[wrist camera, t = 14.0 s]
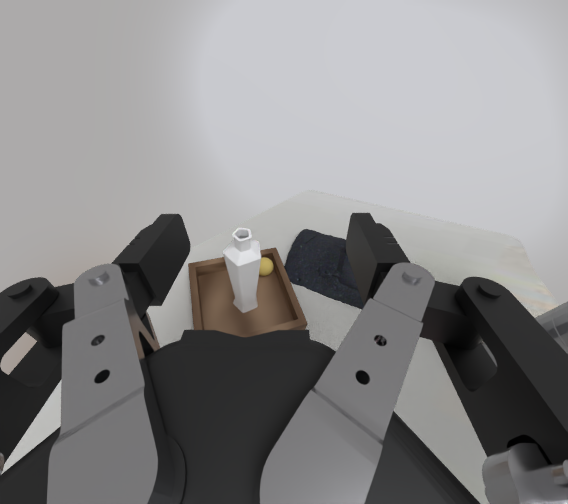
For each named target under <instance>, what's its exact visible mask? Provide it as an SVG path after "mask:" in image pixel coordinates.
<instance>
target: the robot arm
mask: <svg viewBox="0 0 568 504" xmlns="http://www.w3.org/2000/svg"><path fill="white" fill-rule="evenodd" d="M189 252H190V241H189V238H188V235H187V232H186V229H185V225H184V223H183V219H182V217H181V216H180V215H179V214H161V215H160V216H159V217H158V218H157V219H156V221H155V222H154V223H153V224H152V225H149V226H148V227H146V228H145V229H143V230H141V231H140V232H139V234H138V235H137V236H136V237H135V239H133V240H132V241H131V242H130V245H128V246H127V247H126V248H125V249H124V250H123V251H122V252H121V253H120V254H119V256H118V257H117V258H116V259H115V260H114V261H113V262H112V263H111V264H104V265H100V266H96V267H94V268H91V269H89V270H87V271H85V272H84V273H83V274H81V275H80V276H79V277H78V278H77V279H76V281H75V283H72V284H68V285H63V286H58V287H54V286H53V285H52V284H51V283H50V282H49V281H48V280H47V279H46V278H41V277H38V278H31V279H27V280H24V281H21V282H19V283H16V284H14V285H12V286H10V287H8V288H7V289H5V290H4V291H2V292H1V293H0V363H1V359H2V357H3V356H4V354H5V353H6V352H7V351H8V350H9V349H10V348H11V347H12V346H13V345H14V344H15V342H16V341H17V340H18V339H19V338H20V337H21V336H22V335H23V334H24V333H25V332H27V333H28V334H29V335H30V336H32V337H33V338H34V339H35V340H37V342H36V344H35V345H34V346H33V347H32V348H31V350H30V351H29V352H28V353H27V354H26V355H25V356H24V358H23V359H22V360H21V361H20V363H19V364H18V365H17V366H16V367H15V368H14V370H13V371H12V372H11V373H10V374H9V375H7V374H6V373H4V372H3V371H2V370H1V368H0V504H480V503H479V502H478V501H477V499H476V498H475V497H474V496H473V495H472V494H471V493H470V492H469V491H468V490H467V489H466V488H465V487H464V486H463V484H462V483H461V482H460V481H459V480H458V479H457V478H456V477H455V476H454V475H453V474H452V473H451V472H450V471H449V470H448V468H447V467H446V466H445V465H444V464H443V463H442V462H441V461H440V460H439V459H438V458H437V457H436V456H435V455H434V454H433V453H432V451H431V450H430V449H429V448H428V447H427V446H426V445H425V444H424V443H423V442H422V441H421V440H420V439H419V438H418V437H417V435H416V434H415V433H414V432H413V431H412V430H411V429H410V428H409V427H408V426H407V425H406V424H405V423H404V422H403V421H402V419H401V418H400V417H399V416H398V415H397V414H396V413H395V412H394V411H393V410H394V407H395V404H396V402H397V399H398V396H399V393H400V390H401V387H402V384H403V381H404V379H405V376H406V373H407V370H408V367H409V364H410V361H411V358H412V356H413V353H414V350H415V347H416V344H417V341H418V338H419V337H423V338H426V339H430V340H432V341H433V343H434V345H435V347H436V349H437V351H438V353H439V356H440V358H441V360H442V362H443V364H444V366H445V368H446V370H447V373H448V375H449V377H450V379H451V381H452V383H453V385H454V387H455V390H456V392H457V394H458V396H459V398H460V400H461V402H462V404H463V406H464V409H465V411H466V413H467V415H468V417H469V419H470V421H471V423H472V426H473V428H474V430H475V432H476V434H477V436H478V438H479V440H480V442H481V445H482V447H483V449H484V451H485V453H486V455H487V457H488V458H487V459H486V460H485V461H484V464H483V468H482V476H483V481H484V485H485V494H486V497H487V499H488V501H489V503H490V504H568V302H566V303H564V304H562V305H560V306H558V307H556V308H554V309H552V310H550V311H548V312H546V313H544V314H542V315H540V316H538V317H536V318H534V317H533V316H532V315H531V314H530V313H529V312H528V311H527V310H526V308H525V307H524V306H523V305H522V304H521V303H520V302H519V301H518V300H517V299H516V298H515V297H514V296H513V294H512V293H511V292H510V291H509V290H507V289H506V288H505V287H503V286H502V285H500V284H498V283H496V282H494V281H492V280H489V279H485V278H481V277H468V278H466V279H465V280H464V281H463V282H462V284H461V285H460V286H456V285H451V284H447V283H442V282H438V281H435V280H434V277H433V276H432V275H431V273H430V272H428V271H427V270H426V269H424V268H423V267H421V266H418V265H416V264H412V263H410V261H409V260H408V258H407V257H406V255H405V253H404V252H403V250H402V249H401V247H400V246H399V244H397V241H396V239H395V238H394V236H393V235H392V233H391V232H390V230H389V229H388V228H386V227H385V226H383V225H382V224H381V223H375V221H374V220H373V218H372V216H371V214H370V213H352V215H351V218H350V223H349V228H348V233H347V239H346V253H347V256H348V259H349V262H350V265H351V268H352V271H353V274H354V278H355V281H356V284H357V287H358V290H359V293H360V296H361V299H362V302H363V305H364V308H363V309H362V311H361V313H360V314H359V316H358V318H357V319H356V321H355V322H354V324H353V326H352V327H351V329H350V330H349V332H348V334H347V335H346V337H345V339H344V340H343V342H342V343H341V345H340V347H339V348H338V350H337V351H334V350H333V349H331V348H330V347H328V346H326V345H324V344H322V343H319V342H316V341H313V340H310V336H309V330H276V331H272V332H267V333H263V334H259V335H255V336H250V337H240V336H237V335H233V334H229V333H225V332H221V331H217V330H184V332H183V335H182V337H181V340H179V341H176V342H173V343H170V344H168V345H166V346H163V347H161V348H160V346H159V343H158V340H157V338H156V335H155V332H154V329H153V326H152V323H151V320H150V317H149V314H148V313H147V311H146V310H147V309H148V307H149V306H162V304H163V302H164V300H165V298H166V296H167V294H168V292H169V291H170V289H171V287H172V285H173V283H174V281H175V279H176V277H177V275H178V274H179V272H180V270H181V268H182V266H183V264H184V262H185V260H186V259H187V257H188V255H189ZM482 341H484V342H485V343H483V344H482V343H481V342H482ZM61 379H62V387H61V427H59V428H58V429H57V430H56V431H54V432H53V433H52V434H51V435H49V436H48V437H47V438H46V439H45V440H43V441H42V442H41V443H40V444H38V445H37V446H36V447H35V448H34V449H32V450H31V451H30V452H29V453H27V454H26V455H25V456H24V457H22V458H21V459H20V460H19V461H18V462H16V463H15V464H14V465H13V466H11V467H10V468H9V469H8V470H6V471H5V472H4V473H3V474H2V475H1V473H2V471H3V467H4V464H5V462H6V461H7V459H8V458H9V456H10V455H11V453H12V452H13V450H14V449H15V447H16V446H17V444H18V443H19V441H20V440H21V438H22V437H23V435H24V434H25V432H26V431H27V429H28V428H29V426H30V425H31V423H32V422H33V420H34V419H35V417H36V416H37V414H38V413H39V411H40V410H41V408H42V407H43V406H44V404H45V403H46V401H47V400H48V398H49V397H50V395H51V394H52V392H53V391H54V389H55V388H56V386H57V385H58V383H59V382H60V380H61Z"/></svg>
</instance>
